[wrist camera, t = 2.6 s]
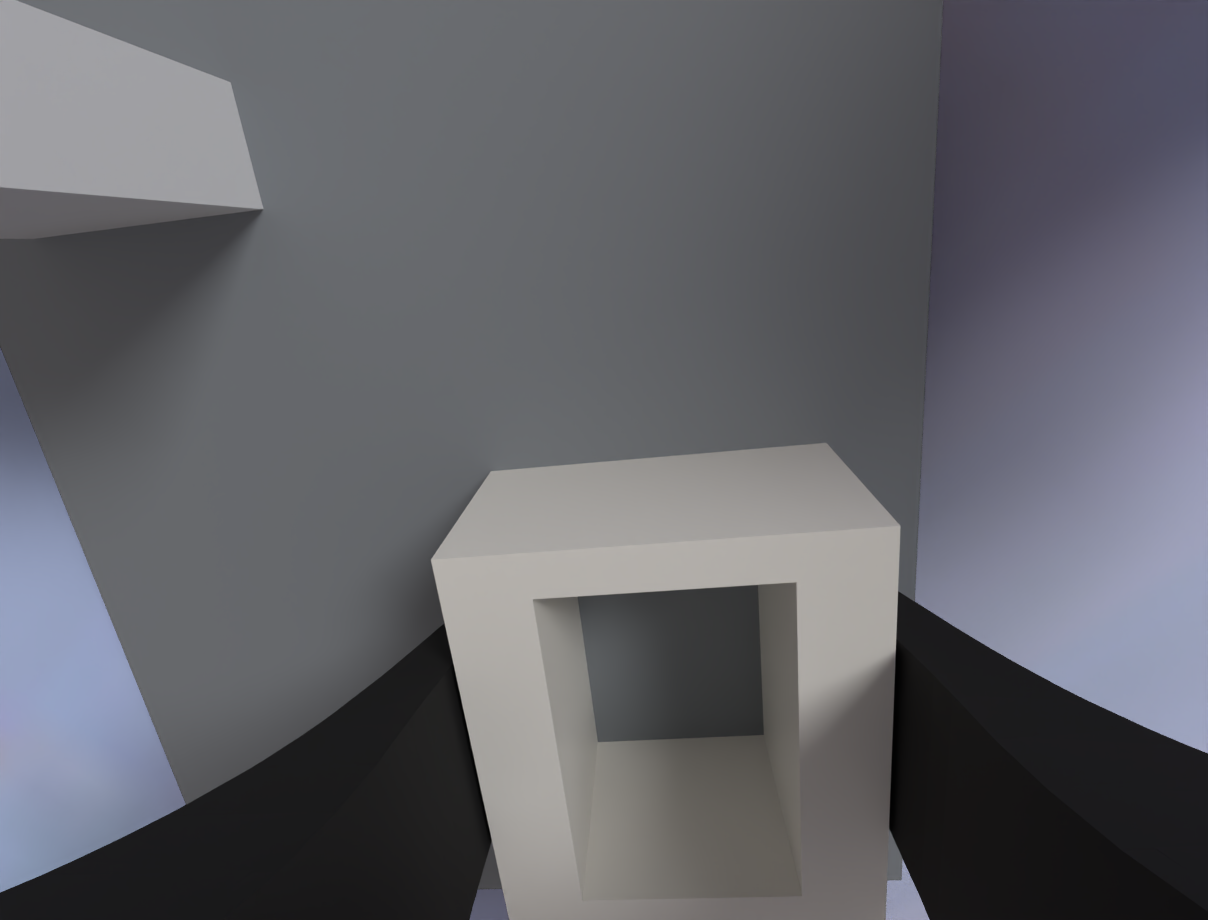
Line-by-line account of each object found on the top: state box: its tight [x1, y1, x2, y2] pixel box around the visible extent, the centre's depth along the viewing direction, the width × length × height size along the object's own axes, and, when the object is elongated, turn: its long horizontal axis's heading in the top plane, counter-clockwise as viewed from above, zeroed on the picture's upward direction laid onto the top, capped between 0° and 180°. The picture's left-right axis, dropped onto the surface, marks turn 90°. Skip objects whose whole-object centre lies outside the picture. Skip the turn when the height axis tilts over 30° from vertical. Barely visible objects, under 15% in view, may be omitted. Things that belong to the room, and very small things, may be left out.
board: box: [0, 0, 943, 889], centre depth 8 cm, size 20×14×6 cm
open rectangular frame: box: [431, 443, 900, 920], centre depth 9 cm, size 5×6×3 cm
